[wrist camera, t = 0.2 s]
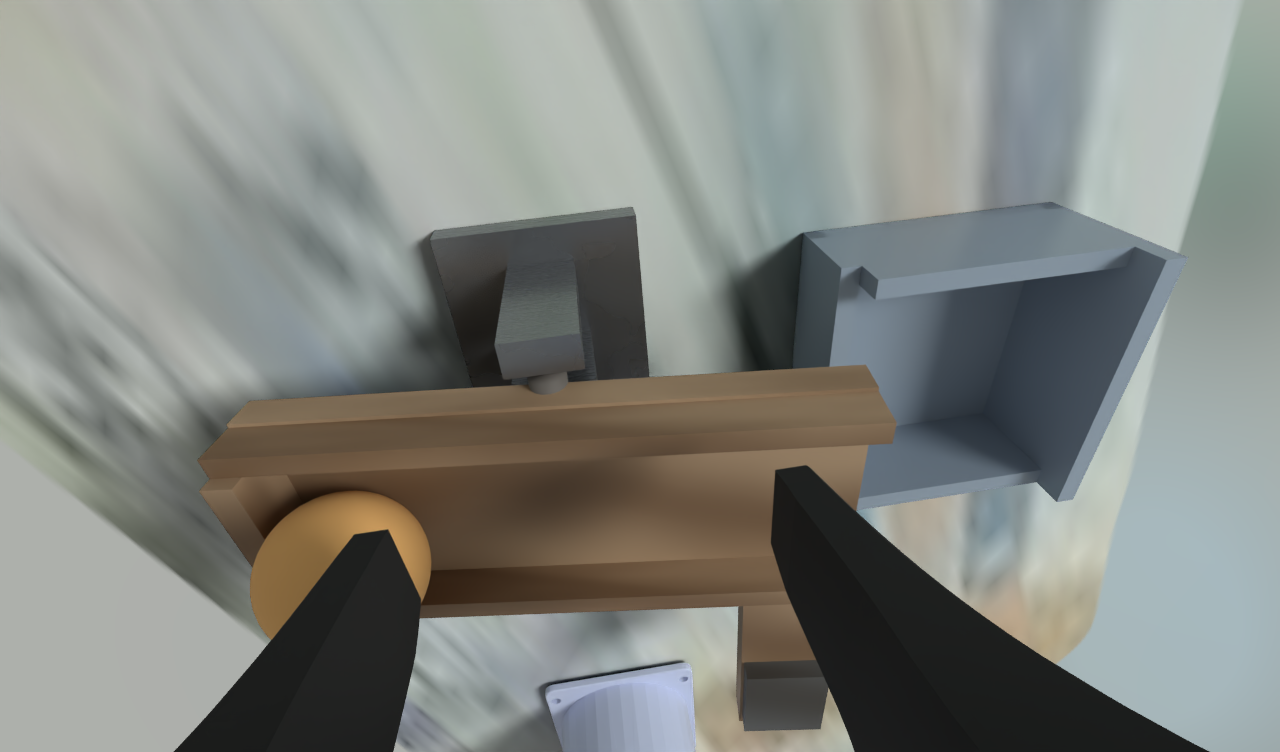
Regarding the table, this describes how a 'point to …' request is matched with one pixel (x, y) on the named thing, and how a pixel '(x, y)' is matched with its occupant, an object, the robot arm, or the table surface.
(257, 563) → the ball
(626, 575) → the lever
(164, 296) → the table surface
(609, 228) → the lever stand
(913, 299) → the blue-grey open box
